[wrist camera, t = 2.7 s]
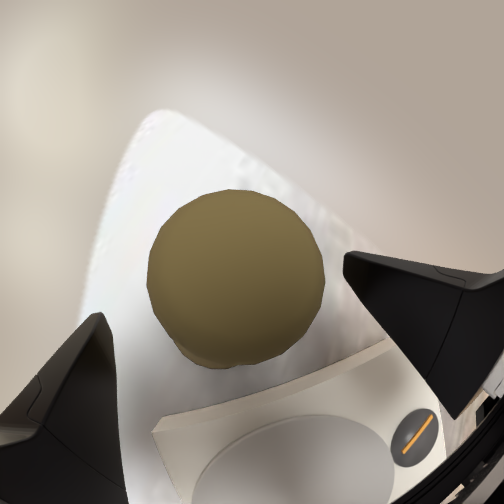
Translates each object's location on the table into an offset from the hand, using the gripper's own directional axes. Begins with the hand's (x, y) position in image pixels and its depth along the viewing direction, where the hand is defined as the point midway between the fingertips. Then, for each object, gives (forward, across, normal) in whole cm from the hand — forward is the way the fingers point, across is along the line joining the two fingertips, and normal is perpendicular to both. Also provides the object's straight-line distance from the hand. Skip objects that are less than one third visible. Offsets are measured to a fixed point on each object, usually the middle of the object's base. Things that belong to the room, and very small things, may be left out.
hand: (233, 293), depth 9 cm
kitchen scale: (-2, -3, +14) cm, 14 cm away
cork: (+6, 0, +6) cm, 8 cm away
